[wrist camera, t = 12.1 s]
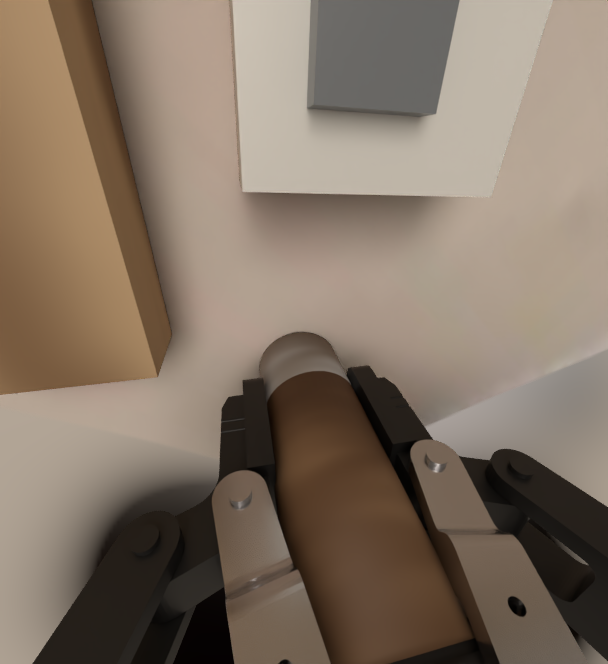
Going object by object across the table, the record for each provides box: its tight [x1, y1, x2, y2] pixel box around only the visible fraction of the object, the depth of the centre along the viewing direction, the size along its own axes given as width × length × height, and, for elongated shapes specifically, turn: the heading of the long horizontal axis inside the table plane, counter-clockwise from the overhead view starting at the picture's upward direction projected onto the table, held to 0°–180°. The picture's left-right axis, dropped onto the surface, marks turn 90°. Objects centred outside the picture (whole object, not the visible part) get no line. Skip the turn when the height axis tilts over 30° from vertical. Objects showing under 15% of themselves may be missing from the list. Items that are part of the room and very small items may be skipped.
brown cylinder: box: [259, 332, 475, 664], centre depth 9 cm, size 3×3×9 cm
